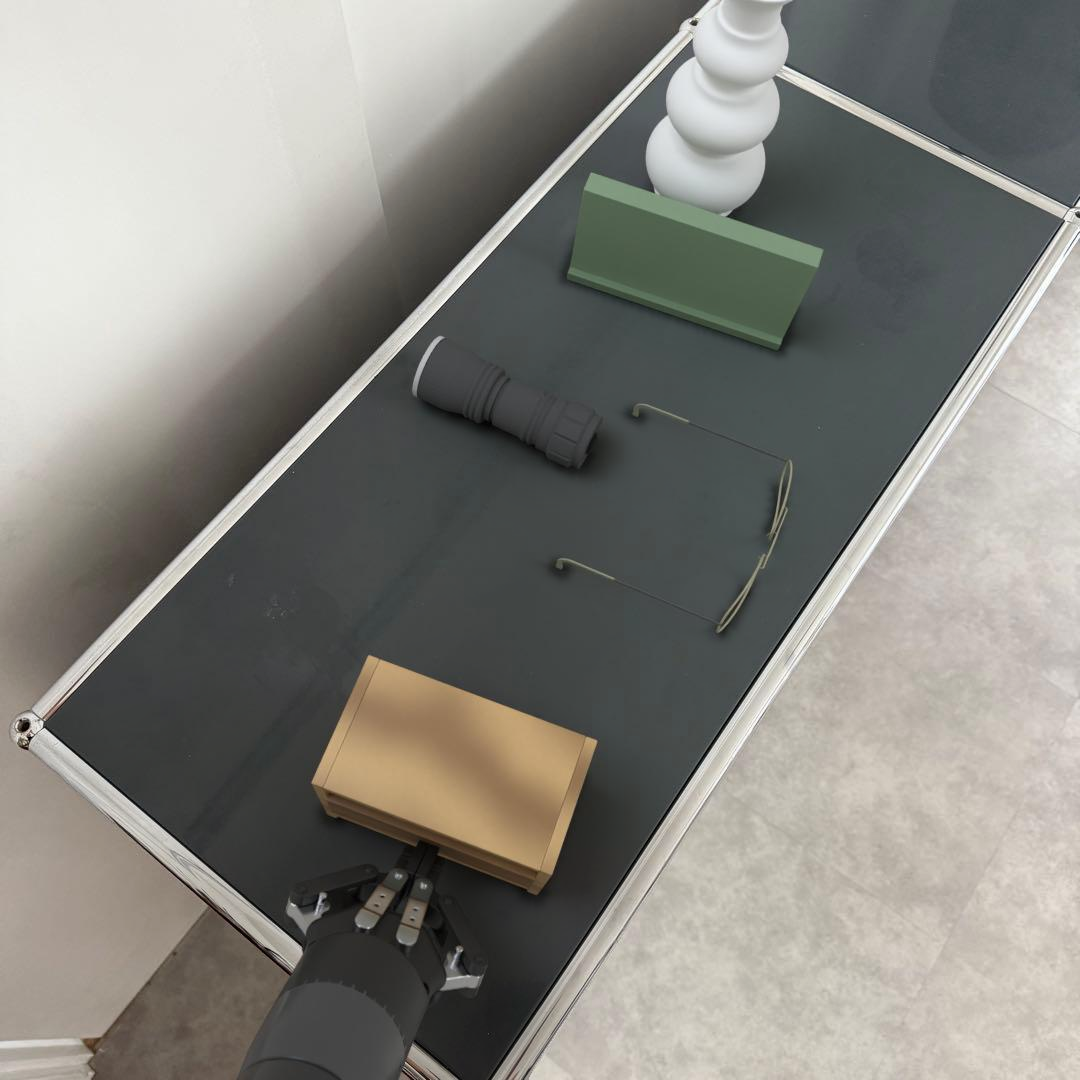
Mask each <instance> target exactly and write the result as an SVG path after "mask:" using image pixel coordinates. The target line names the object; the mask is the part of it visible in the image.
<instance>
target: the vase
mask: <svg viewBox="0 0 1080 1080" xmlns="http://www.w3.org/2000/svg"><path fill="white" fill-rule="evenodd" d="M793 1H794V0H721V1H720V2H719V4H718V5H715V6H713V7H712V8H710V9H708V11H707V12H705V13H704V14H703V15H702V16H701V18H700V19H699V21H698V22H697V24H696V26H695V29H694V31H693V35H692V49H693V54H694V56H693V57H691V58H689V59H688V60H687V61H685V62H683V64H682V65H680V66H679V68H677V70H676V71H675V72H674V73H673V75H672V77H671V78H670V81H669V83H668V86H667V89H666V94H665V106H666V112H667V114H666V115H665V116H664V117H663V118H662V119H661V120H660V121H659V122H658V123H657V125H656V126H655V127H654V129H652V132H651V134H650V136H649V138H648V141H647V144H646V149H645V165H646V171H647V175H648V178H649V180H650V182H651V184H652V186H653V190H654V193H655V194H658V195H661V196H664V197H667V198H670V199H673V200H676V201H679V202H682V203H685V204H688V205H691V206H694V207H697V208H700V209H703V210H706V211H709V212H712V213H715V214H718V215H721V216H724V217H727V216H729V215H730V214H731V213H732V212H733V211H734V210H735V209H738V208H739V207H741V206H742V205H743V204H745V203H746V202H747V201H748V200H749V199H750V198H751V197H752V196H753V195H754V194H755V192H756V191H757V190H758V188H759V187H760V184H761V182H762V180H763V178H764V175H765V169H766V152H765V148H764V143H763V141H765V140H766V138H767V137H768V136H769V135H770V134H771V133H772V131H773V129H774V128H775V126H776V123H777V122H778V119H779V114H780V107H781V106H780V105H781V104H780V103H781V101H780V95H779V91H778V87H777V85H776V83H775V81H774V79H773V78H774V77H776V76H777V75H778V74H779V72H780V71H781V70H782V68H784V65H785V64H786V61H787V58H788V54H789V47H790V45H789V37H788V34H787V31H786V29H785V26H784V24H783V23H782V16H781V12H782V9H783V6H785V5H787V4H789V3H791V2H793Z"/></svg>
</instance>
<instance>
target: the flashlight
mask: <svg viewBox="0 0 1080 1080" xmlns="http://www.w3.org/2000/svg"><path fill="white" fill-rule="evenodd" d="M411 392H412V395H413V396H414V397H416V398H418V399H419V400H422V401H424V402H426V403H428V404H430V405H432V406H434V407H437V408H439V409H441V410H442V411H445V412H449V413H455V414H459V415H463V417H464V418H467V419H468V418H469V420H470V421H474V422H475V423H476V424H481V423H483V422H485V421H486V422H488V423H491V425H492V426H494V427H496V428H498V429H500V430H501V431H503V432H506V433H507V434H508V433H509V434H511V435H513V436H514V437H516V438H519V440H520V441H521V442H524V443H525V442H526V444H528V445H534V447H535V449H536V450H539V451H541V452H543V453H544V454H545V455H546V457H547V459H549V460H550V461H553V462H555V463H557V464H558V465H561V466H563V467H565V468H567V469H568V468H570V467H573V468H577V469H580V468H581V467H582V465H583V464H584V462H585V461H586V458H587V456H588V455H589V454H590V453H591V452H593V450H594V448H595V446H596V444H597V441H598V434H599V432H600V429H601V426H602V423H603V420H604V417H603V416H601V415H599V414H597V412H596V409H595V408H592V407H590V406H589V405H585V404H584V403H583V402H580V401H577V400H576V399H574V400H571V401H569V400H567V399H564V398H562V397H560V396H559V397H557V398H556V397H555V396H554V395H553V393H548V392H547V391H546V390H540V389H538V388H535V387H534V386H531V385H529V384H527V383H525V382H522V381H521V380H518V379H516V378H512V379H511V378H510V377H508V376H506V370H505V369H504V367H501V366H500V367H499V366H498V365H497V364H493V362H491V361H486V360H485V359H484V358H483V357H481V355H479V354H477V352H475V351H474V350H472V349H470V348H468V347H466V346H463V345H462V344H459V343H457V342H455V341H453V340H451V339H449V338H446V337H445V336H442V335H439V336H437V337H435V338H434V339H433V341H432V342H431V343H430V344H429V345H428V347H427V348H426V351H425V353H424V354H423V355H422V358H421V359H420V362H419V364H418V367H417V369H416V372H415V375H414V377H413V382H412V388H411Z"/></svg>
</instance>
